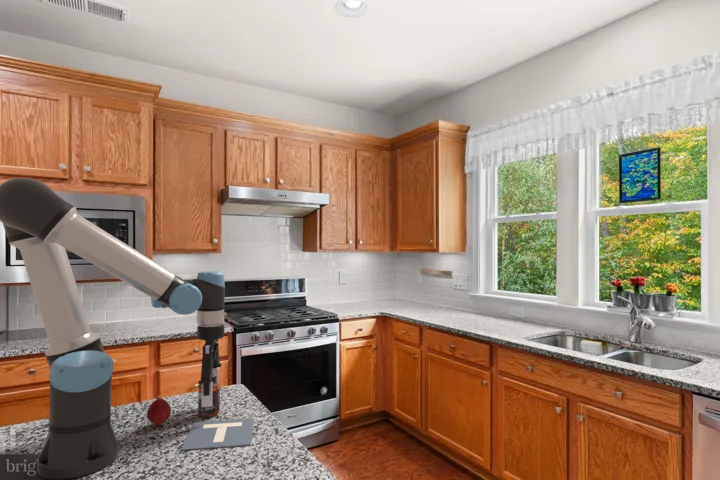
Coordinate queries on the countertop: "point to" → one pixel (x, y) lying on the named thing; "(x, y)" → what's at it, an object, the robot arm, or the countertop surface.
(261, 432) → the countertop surface
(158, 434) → the countertop surface
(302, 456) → the countertop surface
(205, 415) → the supplement bottle
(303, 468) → the countertop surface
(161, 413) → the onion
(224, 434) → the letter card
